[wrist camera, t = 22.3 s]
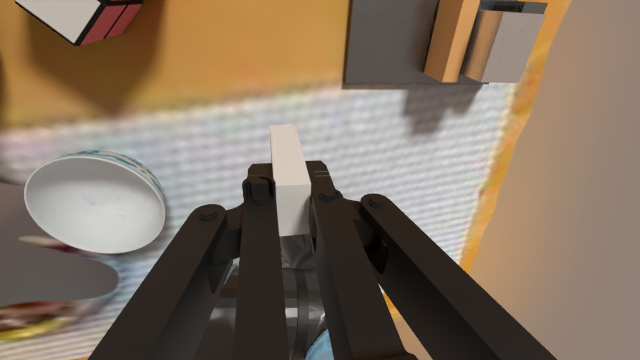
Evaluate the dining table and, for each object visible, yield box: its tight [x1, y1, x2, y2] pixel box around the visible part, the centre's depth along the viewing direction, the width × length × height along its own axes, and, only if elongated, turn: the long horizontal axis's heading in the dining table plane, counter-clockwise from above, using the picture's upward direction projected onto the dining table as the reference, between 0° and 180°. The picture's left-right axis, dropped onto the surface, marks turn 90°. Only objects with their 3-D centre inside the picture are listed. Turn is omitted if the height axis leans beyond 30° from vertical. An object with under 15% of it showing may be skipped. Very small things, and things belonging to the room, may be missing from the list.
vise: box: [344, 0, 548, 84], centre depth 37 cm, size 12×22×6 cm, turn 88°
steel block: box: [460, 10, 546, 83], centre depth 36 cm, size 7×5×9 cm
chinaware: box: [24, 151, 166, 253], centre depth 40 cm, size 15×15×8 cm
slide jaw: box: [424, 0, 480, 82], centre depth 37 cm, size 9×2×5 cm, turn 178°
